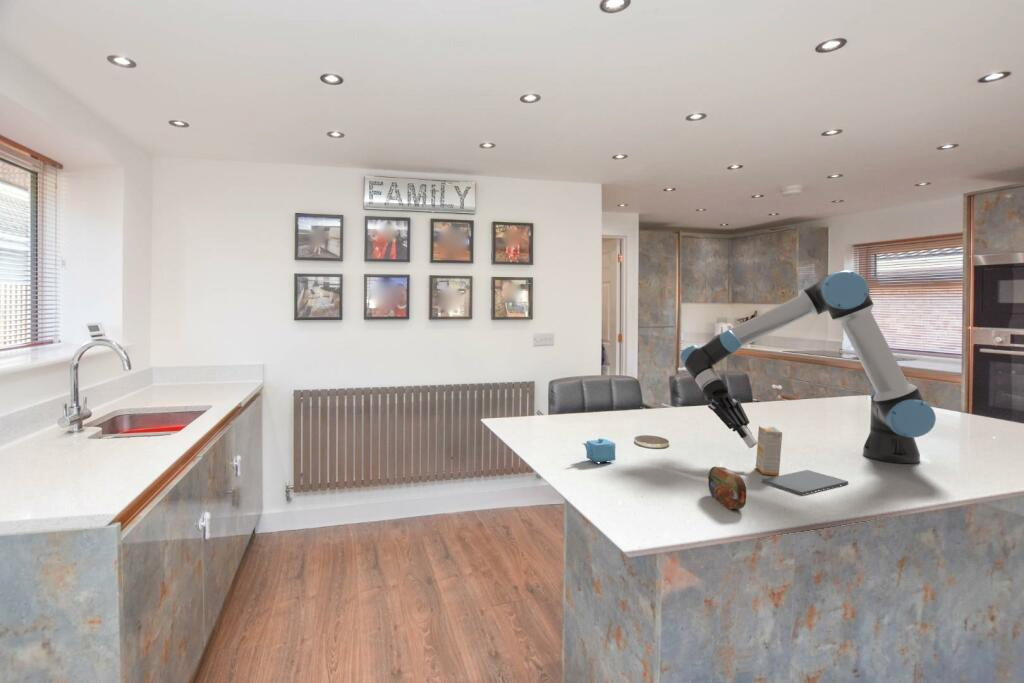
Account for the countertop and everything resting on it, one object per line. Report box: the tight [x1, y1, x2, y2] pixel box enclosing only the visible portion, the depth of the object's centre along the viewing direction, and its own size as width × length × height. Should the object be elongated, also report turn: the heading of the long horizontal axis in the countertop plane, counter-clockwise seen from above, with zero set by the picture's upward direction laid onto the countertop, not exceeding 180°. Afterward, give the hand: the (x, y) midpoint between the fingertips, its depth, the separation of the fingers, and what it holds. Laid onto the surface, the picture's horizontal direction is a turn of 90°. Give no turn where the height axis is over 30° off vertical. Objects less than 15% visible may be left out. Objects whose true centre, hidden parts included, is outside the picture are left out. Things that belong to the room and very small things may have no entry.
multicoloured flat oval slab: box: [707, 466, 747, 510], centre depth 130 cm, size 15×3×8 cm, turn 5°
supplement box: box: [755, 425, 783, 477], centre depth 156 cm, size 8×5×13 cm, turn 168°
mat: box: [761, 469, 849, 496], centre depth 146 cm, size 20×12×1 cm, turn 116°
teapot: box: [581, 438, 616, 463], centre depth 168 cm, size 12×6×8 cm, turn 111°
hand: (753, 445), depth 160 cm, fingers closed
